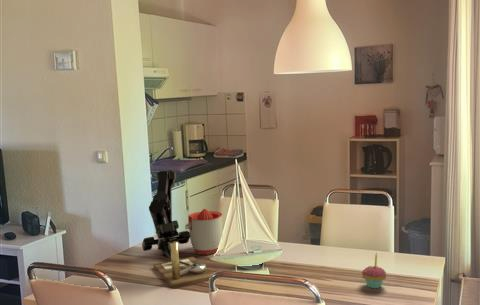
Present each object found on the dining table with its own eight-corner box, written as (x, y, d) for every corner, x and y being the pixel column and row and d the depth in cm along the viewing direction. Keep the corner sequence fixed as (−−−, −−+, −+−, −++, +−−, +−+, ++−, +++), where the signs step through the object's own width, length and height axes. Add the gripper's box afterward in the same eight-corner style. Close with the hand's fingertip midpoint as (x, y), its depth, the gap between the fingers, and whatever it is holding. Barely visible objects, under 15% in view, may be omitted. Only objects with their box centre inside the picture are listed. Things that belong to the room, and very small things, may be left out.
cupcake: (368, 279, 181) (367, 248, 179) (390, 284, 175) (390, 252, 174) (358, 287, 174) (357, 255, 173) (380, 293, 169) (380, 259, 167)
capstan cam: (151, 270, 197) (148, 237, 195) (179, 260, 207) (177, 228, 206) (180, 281, 184) (177, 245, 182) (209, 269, 194) (207, 235, 193)
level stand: (154, 267, 205) (153, 264, 205) (192, 259, 212) (192, 256, 212) (173, 288, 182) (173, 284, 181) (216, 278, 189) (216, 274, 189)
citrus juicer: (183, 248, 228) (180, 207, 226) (219, 243, 233) (216, 203, 231) (190, 259, 213) (187, 215, 211) (228, 253, 218) (225, 210, 216)
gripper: (141, 218, 187) (151, 253, 178) (187, 211, 195) (198, 244, 186) (138, 233, 195) (147, 267, 186) (182, 225, 203) (193, 258, 194)
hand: (172, 259), depth 188 cm, fingers closed
